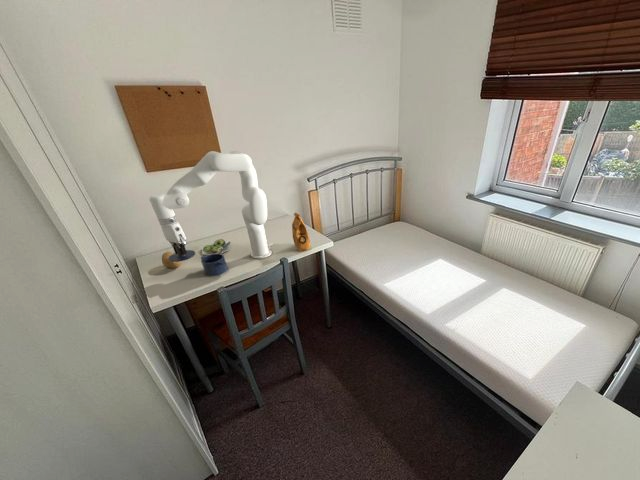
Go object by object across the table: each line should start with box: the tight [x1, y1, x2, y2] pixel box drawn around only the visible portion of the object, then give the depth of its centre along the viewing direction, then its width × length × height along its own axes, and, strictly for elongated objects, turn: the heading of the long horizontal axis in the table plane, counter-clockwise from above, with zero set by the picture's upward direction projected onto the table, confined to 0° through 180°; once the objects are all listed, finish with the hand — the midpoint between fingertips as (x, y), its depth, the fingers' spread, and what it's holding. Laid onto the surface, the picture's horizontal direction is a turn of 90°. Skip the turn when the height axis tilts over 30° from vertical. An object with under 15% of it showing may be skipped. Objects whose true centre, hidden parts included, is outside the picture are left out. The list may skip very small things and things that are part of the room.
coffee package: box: [291, 212, 311, 252], centre depth 184 cm, size 10×12×22 cm
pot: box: [200, 254, 228, 277], centre depth 162 cm, size 11×17×8 cm
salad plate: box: [201, 238, 232, 256], centre depth 186 cm, size 19×18×5 cm
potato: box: [161, 251, 183, 269], centre depth 168 cm, size 10×14×8 cm
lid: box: [169, 244, 196, 262], centre depth 151 cm, size 12×12×7 cm
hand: (181, 253), depth 151 cm, fingers closed on lid, 3 cm apart
